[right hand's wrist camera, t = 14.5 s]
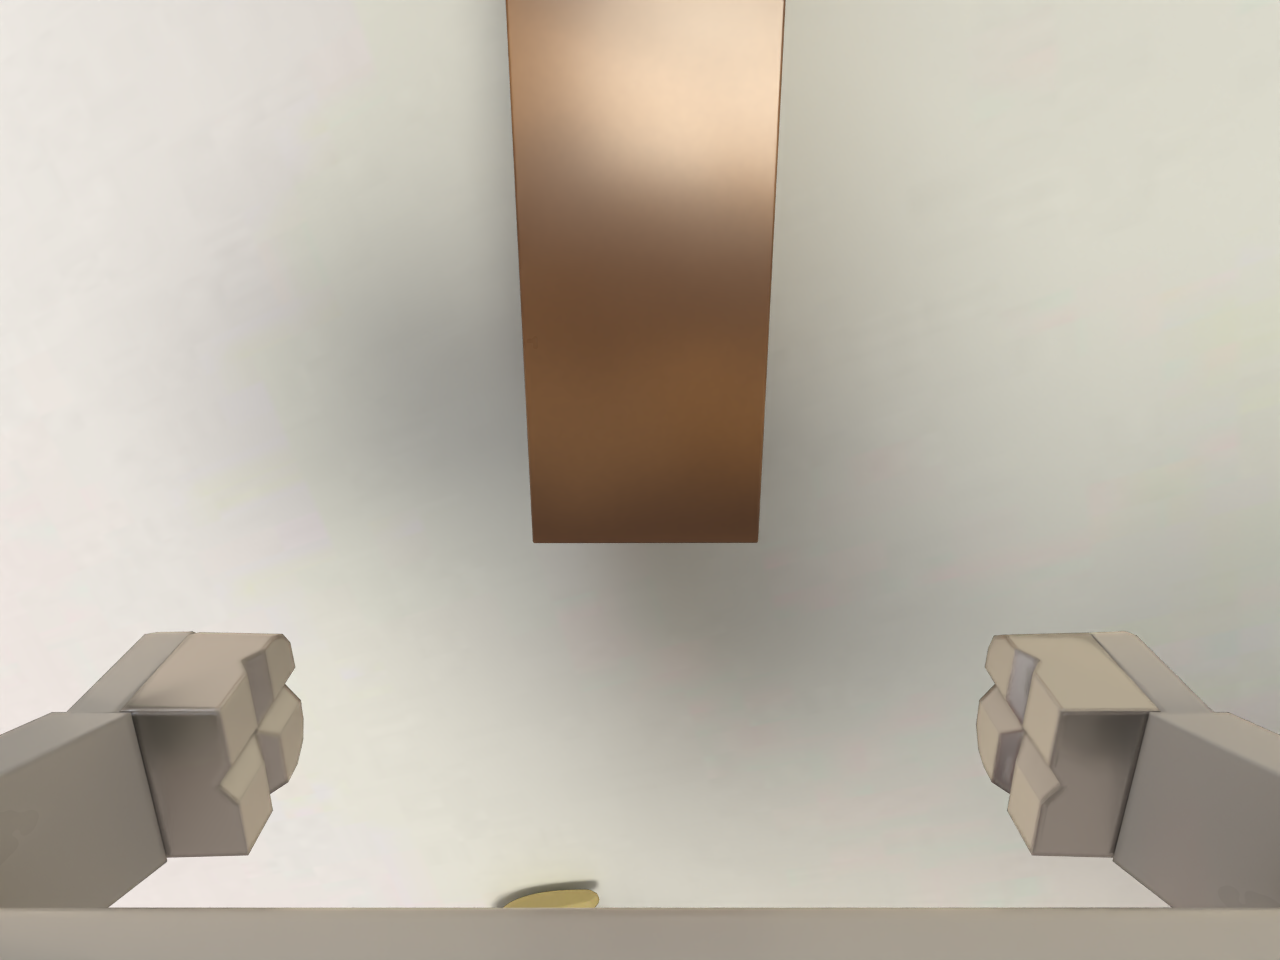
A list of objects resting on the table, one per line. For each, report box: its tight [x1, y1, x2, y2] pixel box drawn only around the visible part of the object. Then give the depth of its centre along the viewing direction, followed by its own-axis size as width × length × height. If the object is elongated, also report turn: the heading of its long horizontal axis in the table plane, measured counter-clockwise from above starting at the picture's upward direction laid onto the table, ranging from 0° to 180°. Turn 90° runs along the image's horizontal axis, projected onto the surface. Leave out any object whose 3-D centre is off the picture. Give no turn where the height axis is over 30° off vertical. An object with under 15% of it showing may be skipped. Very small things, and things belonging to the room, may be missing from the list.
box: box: [506, 0, 786, 543], centre depth 24 cm, size 27×6×13 cm, turn 0°
